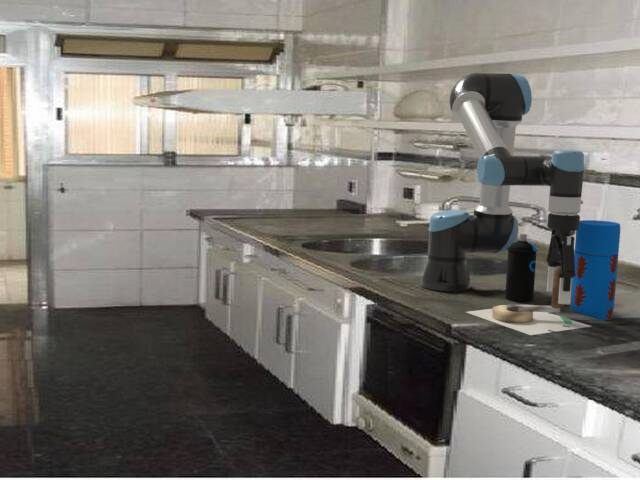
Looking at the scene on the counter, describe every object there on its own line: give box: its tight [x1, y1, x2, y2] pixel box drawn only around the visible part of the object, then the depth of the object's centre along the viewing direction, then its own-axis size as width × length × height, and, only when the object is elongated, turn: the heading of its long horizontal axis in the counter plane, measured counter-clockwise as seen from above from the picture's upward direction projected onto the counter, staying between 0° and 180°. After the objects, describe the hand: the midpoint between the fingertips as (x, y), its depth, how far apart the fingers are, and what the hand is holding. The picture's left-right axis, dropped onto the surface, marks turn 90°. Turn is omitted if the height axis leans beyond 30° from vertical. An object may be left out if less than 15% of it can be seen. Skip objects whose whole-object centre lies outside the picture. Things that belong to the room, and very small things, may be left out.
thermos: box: [570, 219, 621, 322], centre depth 205 cm, size 11×11×25 cm
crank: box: [491, 266, 565, 323], centre depth 195 cm, size 18×10×13 cm, turn 85°
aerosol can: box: [504, 232, 538, 303], centre depth 217 cm, size 8×8×20 cm
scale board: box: [465, 308, 592, 336], centre depth 196 cm, size 24×21×2 cm
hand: (558, 297), depth 194 cm, fingers open, 13 cm apart
